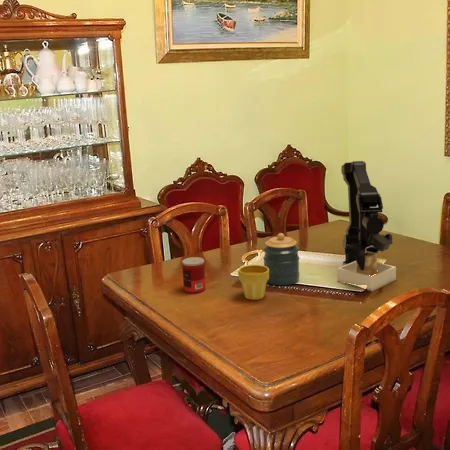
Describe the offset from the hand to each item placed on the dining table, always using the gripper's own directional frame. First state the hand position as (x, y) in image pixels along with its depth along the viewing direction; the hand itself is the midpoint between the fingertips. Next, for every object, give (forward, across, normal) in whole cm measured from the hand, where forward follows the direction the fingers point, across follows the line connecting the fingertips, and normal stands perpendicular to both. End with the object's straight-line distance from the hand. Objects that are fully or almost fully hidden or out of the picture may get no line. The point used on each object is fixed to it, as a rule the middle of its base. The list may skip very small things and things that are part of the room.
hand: (366, 268), depth 208 cm
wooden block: (+2, 0, 0) cm, 2 cm away
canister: (+5, -19, +23) cm, 31 cm away
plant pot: (+5, -37, +19) cm, 42 cm away
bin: (+5, 0, 0) cm, 5 cm away
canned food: (+5, -47, +39) cm, 62 cm away
